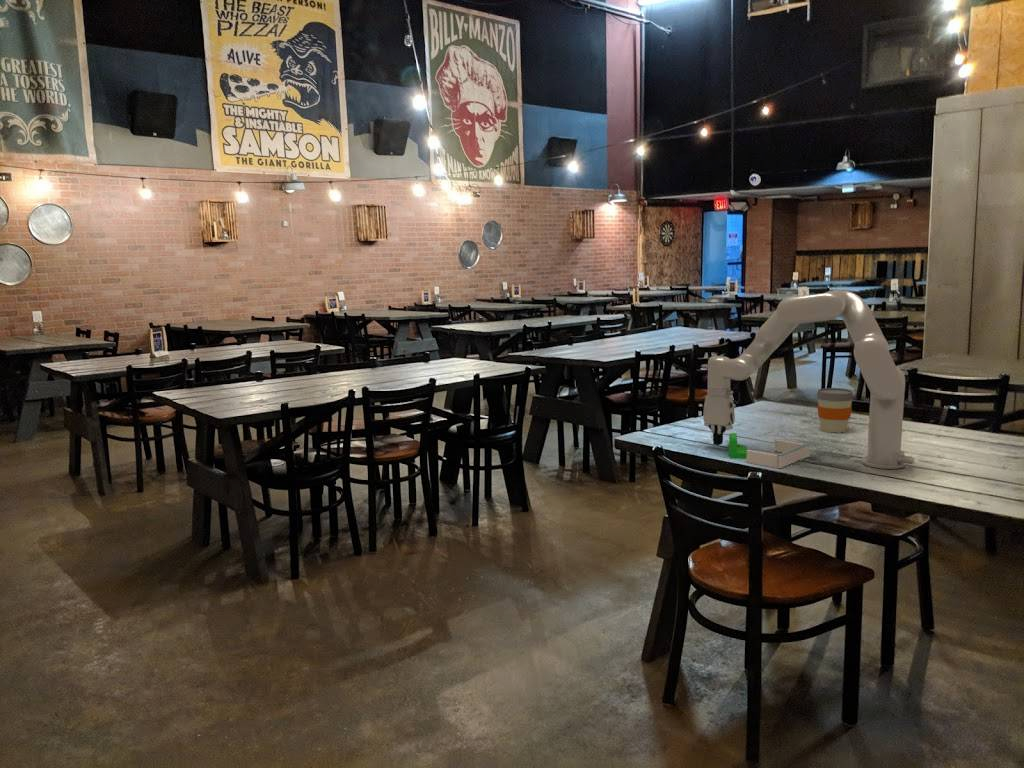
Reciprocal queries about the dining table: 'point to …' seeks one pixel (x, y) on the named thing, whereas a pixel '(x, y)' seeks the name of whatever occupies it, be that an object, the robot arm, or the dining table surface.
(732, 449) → the mechanical part
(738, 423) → the dining table surface
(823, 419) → the reusable coffee cup
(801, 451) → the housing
